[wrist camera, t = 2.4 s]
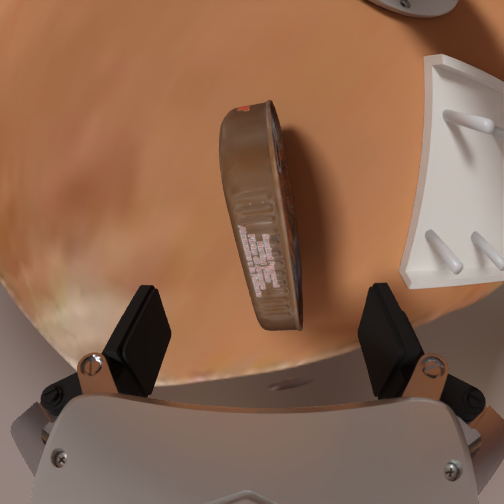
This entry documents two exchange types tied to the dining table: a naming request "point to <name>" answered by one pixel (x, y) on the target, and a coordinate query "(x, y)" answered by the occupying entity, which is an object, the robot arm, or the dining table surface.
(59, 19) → the dining table surface
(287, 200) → the tin
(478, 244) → the dish rack
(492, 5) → the dining table surface
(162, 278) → the dining table surface
